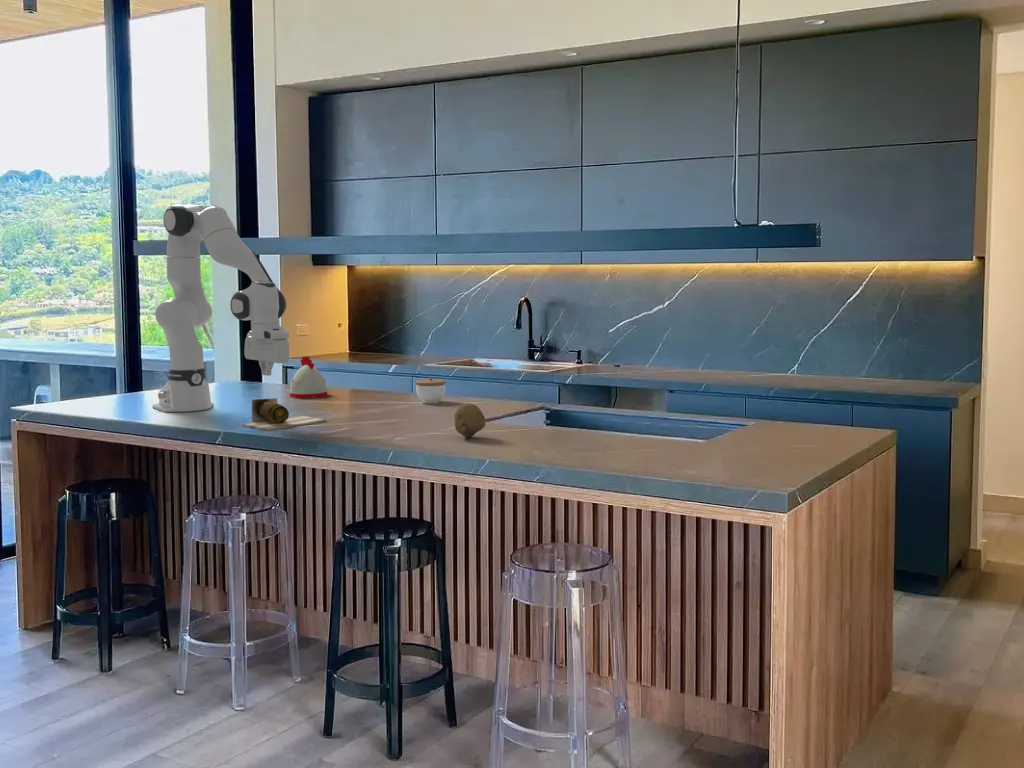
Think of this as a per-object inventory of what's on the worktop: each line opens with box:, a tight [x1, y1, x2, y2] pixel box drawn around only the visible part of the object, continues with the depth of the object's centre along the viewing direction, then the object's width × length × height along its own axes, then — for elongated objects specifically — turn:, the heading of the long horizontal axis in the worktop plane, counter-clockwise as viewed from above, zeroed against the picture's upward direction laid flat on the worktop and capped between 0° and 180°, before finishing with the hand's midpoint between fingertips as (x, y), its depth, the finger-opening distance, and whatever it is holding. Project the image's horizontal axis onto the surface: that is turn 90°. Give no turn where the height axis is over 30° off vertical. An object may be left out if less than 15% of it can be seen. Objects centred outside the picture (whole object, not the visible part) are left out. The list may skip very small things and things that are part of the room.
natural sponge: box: [454, 403, 487, 439], centre depth 302 cm, size 9×9×10 cm
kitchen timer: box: [289, 356, 328, 399], centre depth 395 cm, size 14×14×15 cm
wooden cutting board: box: [242, 415, 327, 431], centre depth 331 cm, size 14×22×1 cm, turn 137°
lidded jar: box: [415, 376, 447, 405], centre depth 373 cm, size 11×11×9 cm
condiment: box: [251, 397, 290, 423], centre depth 330 cm, size 7×8×12 cm
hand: (266, 375), depth 333 cm, fingers closed
